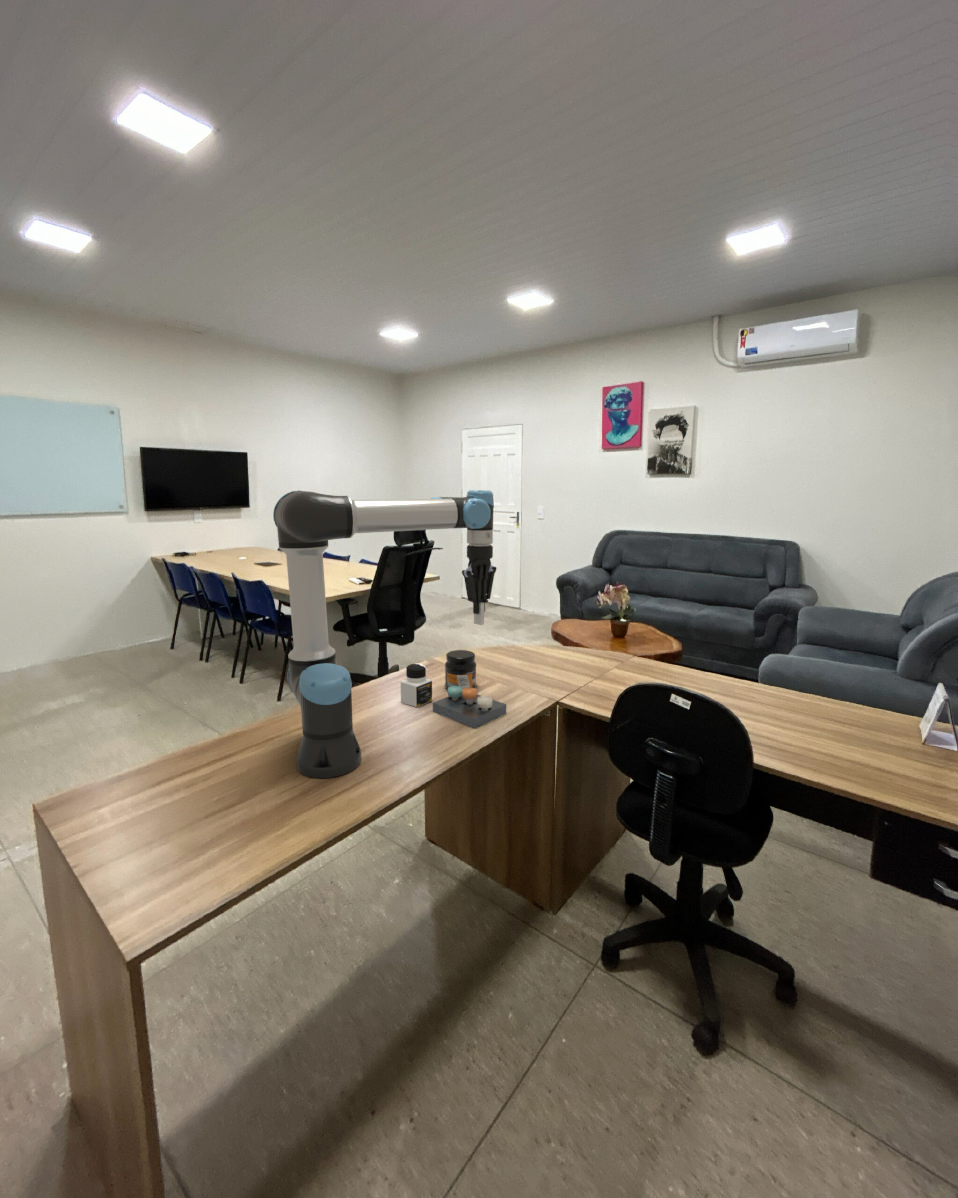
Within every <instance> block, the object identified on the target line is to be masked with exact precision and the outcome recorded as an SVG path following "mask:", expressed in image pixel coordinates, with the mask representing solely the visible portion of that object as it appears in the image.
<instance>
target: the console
mask: <svg viewBox="0 0 958 1198" xmlns="http://www.w3.org/2000/svg"><path fill="white" fill-rule="evenodd" d="M480 696H482V695H481V694H478V693H477V698H478V697H480ZM477 698H475V699H473V705H472V706H467V705H466V699H464V698H463V697H462V696H460V697H458V700H457V701H454V700H452V697H450V696H448V695H447V696H446V697H444V698H441V699H439V700H435V701H433V702H432V713H435V714H436V715H438V716H441V717H444V718H447V719H450V720H452V721H454V722H457V723H459V724H462V725H465V726H467V727H470V728H472V729H478V728H480V727H482V726H484V725H486V724H488V723H490V722H492V721H495V720H496V719H498V718H501V717H503V716H506V715H507V703H504V702H501V701H498V700H495V699H493V698H492V707H490V708H488V711H487V712H484V711H481V708H480V707H478V706H477Z"/></svg>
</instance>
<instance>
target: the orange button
mask: <svg viewBox="0 0 958 1198" xmlns="http://www.w3.org/2000/svg"><path fill="white" fill-rule="evenodd" d="M477 694H478V689H477V688H476V687H475V688H471V687H468V688H464V689H462V697H463V698H464V699H466V705H467V706H472V705H473V699H475V698H477Z"/></svg>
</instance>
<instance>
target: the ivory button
mask: <svg viewBox="0 0 958 1198" xmlns="http://www.w3.org/2000/svg"><path fill="white" fill-rule="evenodd" d="M492 699H493V697H491V696H488V695H481V696H480V697H478V698H477V706H478V707H480V708H481V711H484V712H487V711H488V708H490V707H492Z"/></svg>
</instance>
